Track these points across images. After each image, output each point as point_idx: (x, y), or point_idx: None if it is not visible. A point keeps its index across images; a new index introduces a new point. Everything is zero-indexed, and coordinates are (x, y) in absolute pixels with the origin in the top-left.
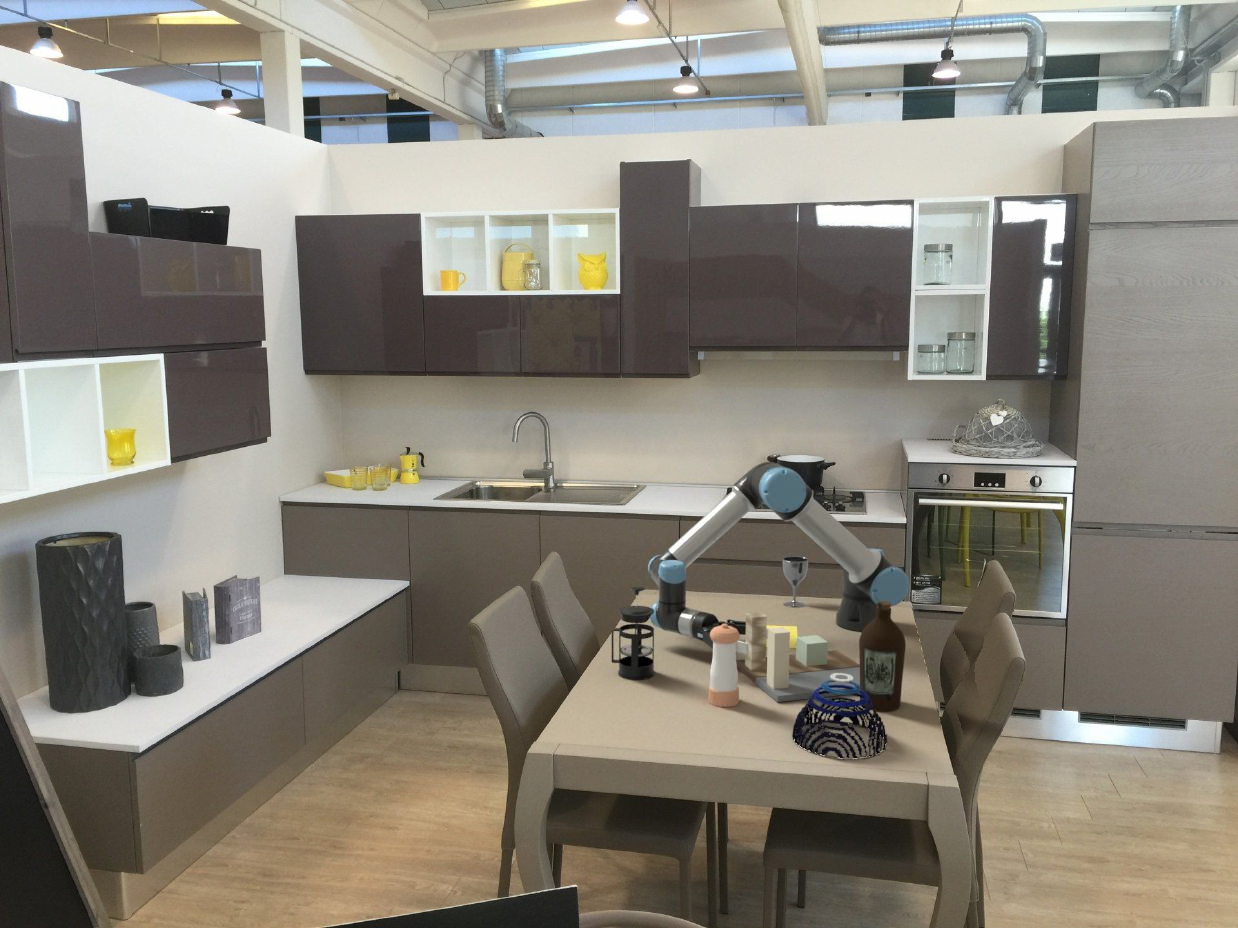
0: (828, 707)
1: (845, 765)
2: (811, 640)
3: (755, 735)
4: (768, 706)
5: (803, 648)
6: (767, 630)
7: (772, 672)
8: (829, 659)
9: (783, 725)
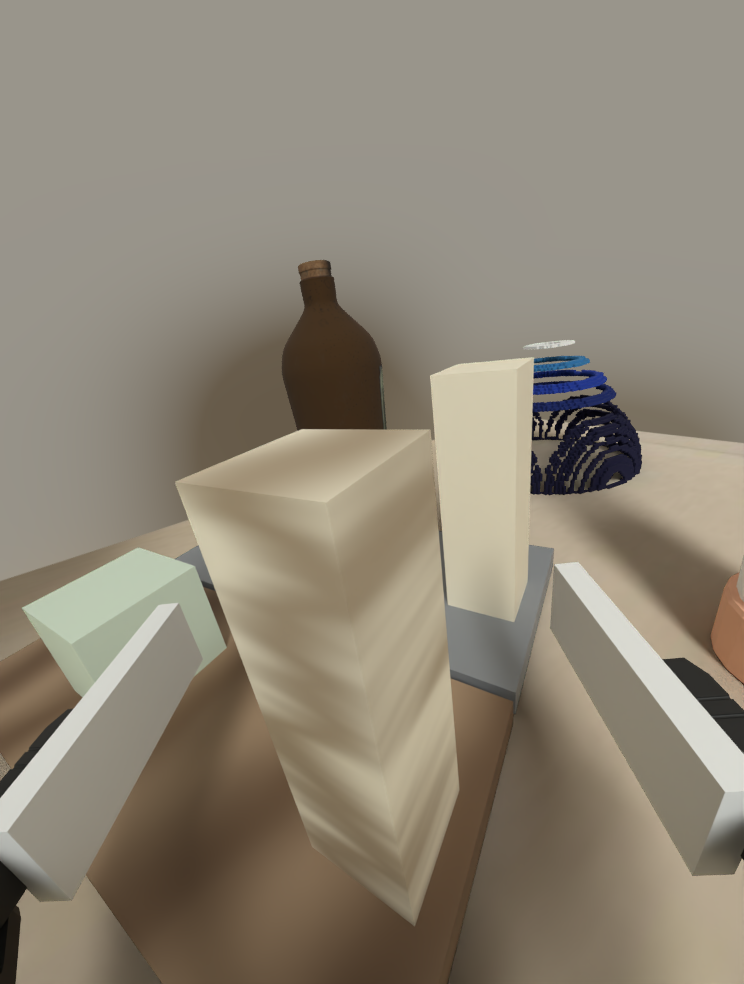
0: None
1: None
2: (129, 581)
3: (733, 497)
4: (599, 565)
5: None
6: (119, 698)
7: (526, 535)
8: None
9: (622, 503)
